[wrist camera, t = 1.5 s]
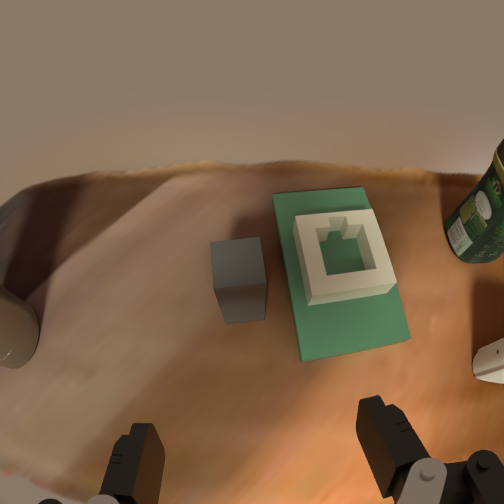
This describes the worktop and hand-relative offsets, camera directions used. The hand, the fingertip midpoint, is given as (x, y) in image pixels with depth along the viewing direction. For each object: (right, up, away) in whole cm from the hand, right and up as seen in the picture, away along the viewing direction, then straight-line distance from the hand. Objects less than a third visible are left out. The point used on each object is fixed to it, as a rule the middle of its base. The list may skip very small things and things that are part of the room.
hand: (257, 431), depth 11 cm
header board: (+9, +5, +25) cm, 27 cm away
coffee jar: (+30, +8, +26) cm, 41 cm away
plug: (-1, +1, +23) cm, 23 cm away
